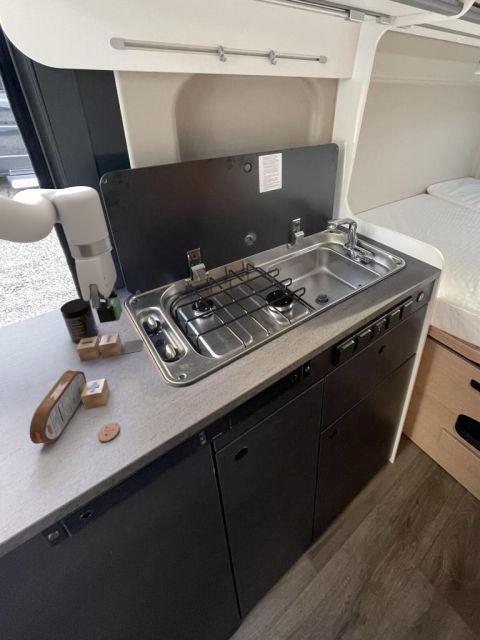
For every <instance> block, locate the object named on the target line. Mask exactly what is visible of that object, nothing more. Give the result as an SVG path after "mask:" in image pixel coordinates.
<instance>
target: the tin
mask: <svg viewBox="0 0 480 640" xmlns="http://www.w3.org/2000/svg"><path fill="white" fill-rule="evenodd" d="M86 382H87V378H86V374H85V372H84V371H82V370H72V369H69V370H66V371H64V373H62V374H61V376H59V379H58V380H57V381H56V382H55V383H54V385H52V387H51V388H50V390H49V391H48V393H47V394H46V395H45V396H44V398H43V399H42V401H41V402H40V403H39V405H38V406H37V408H36V409H35V412H34V413H33V414H32V415H33V416H32V418H31V421H30V426H29V439H30V441H31V442H32V443H33V444H35V445H38V444H50V443H53V442H54V441H56V440H57V439H58V438H60V436H61V435H62V433H63V432H64V430H65V429H66V427H67V425H68V424H69V422H70V420H71V419H72V417H73V416H74V415H75V413H76V411H77V410H78V408H79V406H80V405H81V403H82V402H83V401H82V399H81V394H82V392H83V389H84V386H85V383H86Z"/></svg>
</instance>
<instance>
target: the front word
mask: <svg viewBox="0 0 480 640" xmlns="http://www.w3.org/2000/svg"><path fill="white" fill-rule="evenodd" d="M109 393H110V388H109V384H108V382H107V379H106V377H104V378H100V379H95V380H89V381H86V383H85V386H84V389H83V392H82V394H81V399H82V401H81V402H82V404H83V407H84V409H85V410H90V409H94V408H99V407H102V406H106V405H107V402H108V398H109Z"/></svg>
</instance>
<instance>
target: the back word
mask: <svg viewBox="0 0 480 640" xmlns="http://www.w3.org/2000/svg"><path fill="white" fill-rule="evenodd" d="M141 339H142V338H139V339H135V340H128V341H124V343H122V339H121V336H120V332H114V333H108V334H103V335H101V338H99V336H98V335H96V336H95V337H90V338H84V339H81V340H80V343H78V345H77V347H76V352H77V354H78V355H77V356H78V357H79V360H80V362H83V361H88V360H95V359H98V358H99V356H100V355H101V357H102V358H105V357H110V356H115V355H120V352H121V355H126V354H127V355H128V354H132V353H137V352H142V348H143V343H144V340H143V341H142V340H141ZM122 345H123V347H122ZM121 349H122V351H121Z"/></svg>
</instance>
